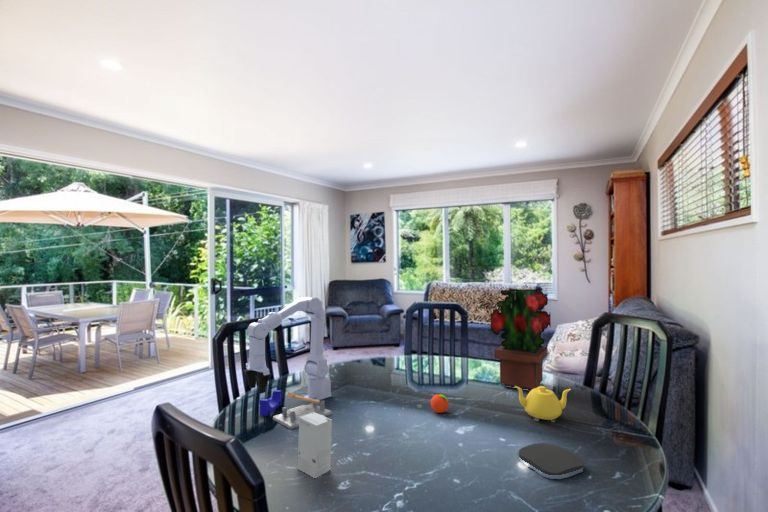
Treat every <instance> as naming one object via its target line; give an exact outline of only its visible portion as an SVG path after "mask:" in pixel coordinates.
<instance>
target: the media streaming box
mask: <svg viewBox="0 0 768 512" xmlns="http://www.w3.org/2000/svg"><path fill="white" fill-rule="evenodd" d="M519 457H520V458H521V459H522V460H524V461H525V462H527V463H529V464H530V465H532V466H533V467H535V468H536V469H538V470H540V471H541V472H543V473H545V474H548V475H562V474H566V473H569V472H573V471H576V470H579V469H581V468H583V467H584V468H585V462H584V460H583V459H582V458H581V457H579V455H577V454H575V453H574V452H573V451H570V450H568V449H567V448H564V447H562V446H561V445H558V444H554V443H553V444H552V443H544V442H539V443H538V442H537V443H532V444H529V445H527V446H523V447H522V448H520V449H519V450H518V458H519Z"/></svg>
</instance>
